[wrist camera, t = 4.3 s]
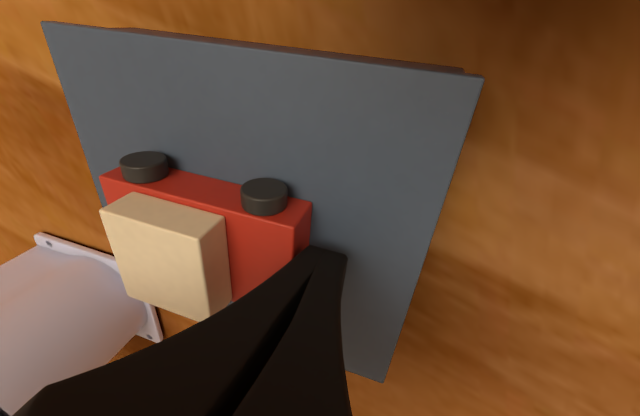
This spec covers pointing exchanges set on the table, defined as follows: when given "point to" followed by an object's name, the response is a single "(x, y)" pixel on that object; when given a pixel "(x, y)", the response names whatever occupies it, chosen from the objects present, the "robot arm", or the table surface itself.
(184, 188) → the wooden car
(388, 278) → the step
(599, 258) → the table surface
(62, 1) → the table surface
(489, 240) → the table surface
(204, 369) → the robot arm
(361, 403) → the table surface
